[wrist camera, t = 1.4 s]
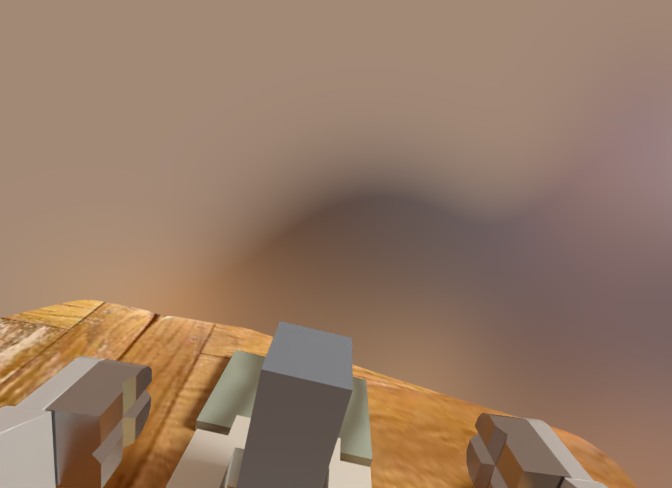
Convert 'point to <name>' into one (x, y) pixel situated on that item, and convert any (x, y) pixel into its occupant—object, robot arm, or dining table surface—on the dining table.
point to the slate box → (297, 409)
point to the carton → (226, 457)
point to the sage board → (239, 396)
